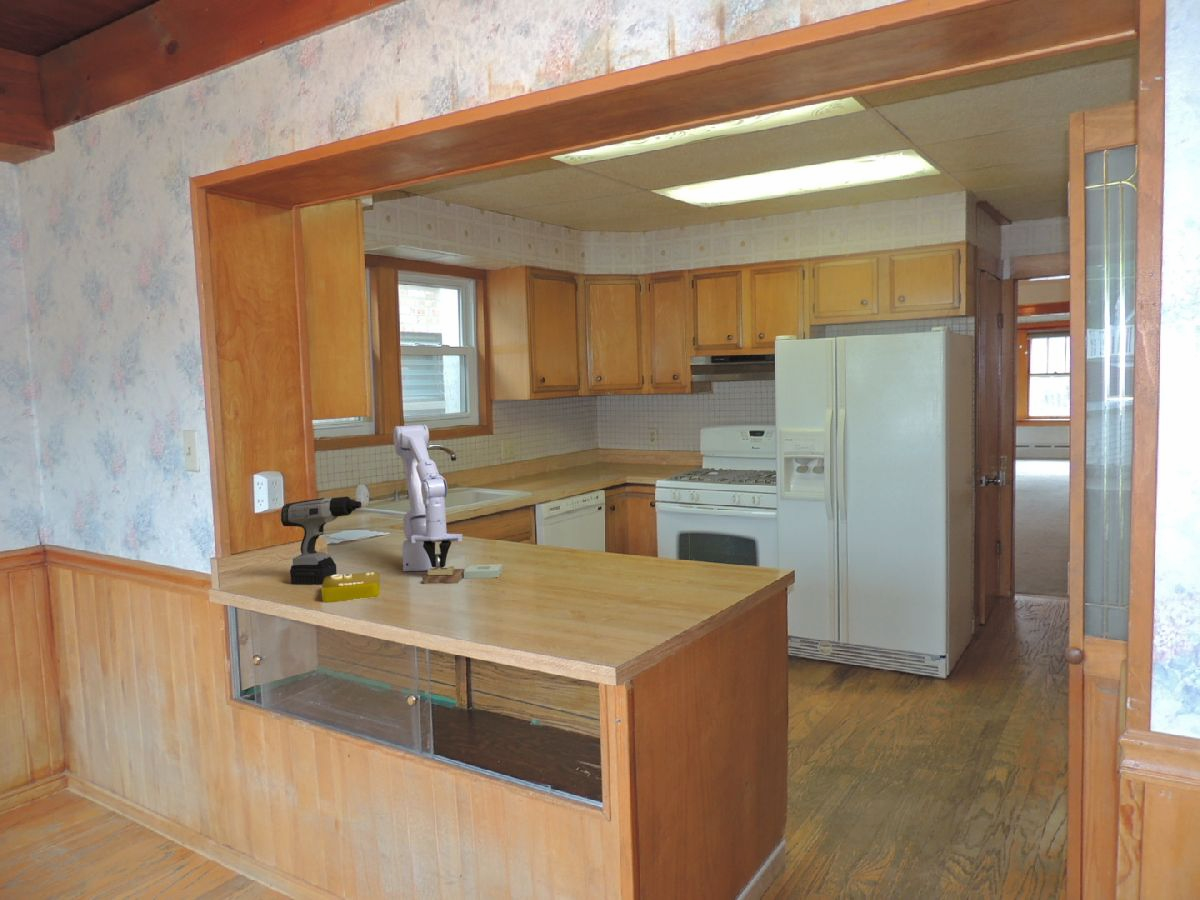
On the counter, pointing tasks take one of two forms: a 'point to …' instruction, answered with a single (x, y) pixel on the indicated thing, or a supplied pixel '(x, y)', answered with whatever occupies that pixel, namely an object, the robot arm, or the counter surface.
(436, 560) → the silver cylindrical rod
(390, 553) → the counter surface
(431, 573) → the bar
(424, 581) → the socket block
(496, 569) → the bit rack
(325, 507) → the cordless drill
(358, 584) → the element tile
